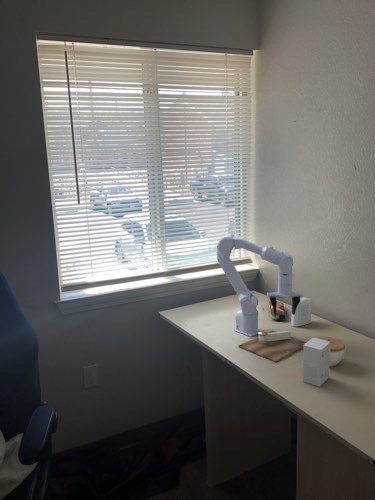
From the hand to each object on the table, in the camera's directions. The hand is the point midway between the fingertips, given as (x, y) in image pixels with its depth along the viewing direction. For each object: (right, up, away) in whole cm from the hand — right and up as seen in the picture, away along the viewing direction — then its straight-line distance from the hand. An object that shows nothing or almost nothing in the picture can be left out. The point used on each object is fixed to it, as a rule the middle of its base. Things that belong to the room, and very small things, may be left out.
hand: (284, 314), depth 172 cm
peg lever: (-6, -10, -6) cm, 13 cm away
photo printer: (+11, -7, +14) cm, 19 cm away
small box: (+2, -17, -35) cm, 39 cm away
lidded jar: (+10, -14, -23) cm, 29 cm away
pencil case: (+3, -5, +26) cm, 27 cm away
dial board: (-6, -11, -9) cm, 16 cm away
